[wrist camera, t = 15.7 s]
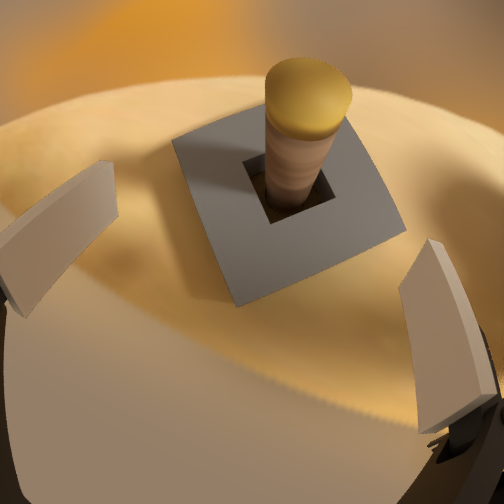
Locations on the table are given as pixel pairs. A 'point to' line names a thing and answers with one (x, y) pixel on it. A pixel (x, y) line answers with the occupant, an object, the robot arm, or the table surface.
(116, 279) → the table surface
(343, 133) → the socket plate
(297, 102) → the yellow capped peg
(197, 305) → the table surface
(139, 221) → the table surface
